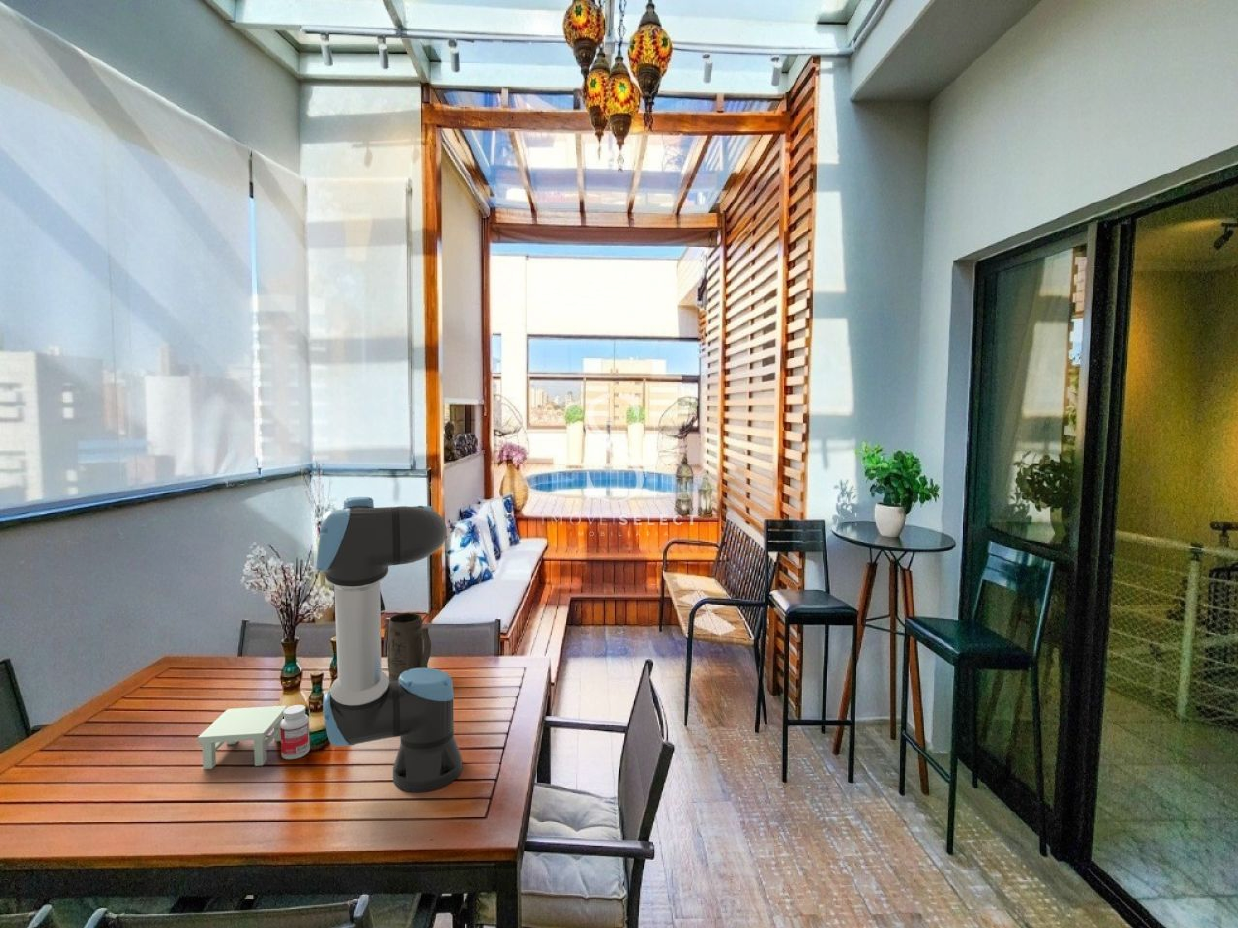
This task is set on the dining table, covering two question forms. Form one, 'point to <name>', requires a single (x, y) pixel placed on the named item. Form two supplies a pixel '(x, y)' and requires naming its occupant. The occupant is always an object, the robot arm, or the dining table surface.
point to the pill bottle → (294, 732)
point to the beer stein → (407, 644)
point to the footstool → (242, 731)
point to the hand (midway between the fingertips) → (361, 631)
